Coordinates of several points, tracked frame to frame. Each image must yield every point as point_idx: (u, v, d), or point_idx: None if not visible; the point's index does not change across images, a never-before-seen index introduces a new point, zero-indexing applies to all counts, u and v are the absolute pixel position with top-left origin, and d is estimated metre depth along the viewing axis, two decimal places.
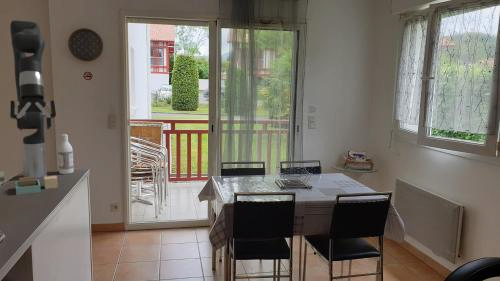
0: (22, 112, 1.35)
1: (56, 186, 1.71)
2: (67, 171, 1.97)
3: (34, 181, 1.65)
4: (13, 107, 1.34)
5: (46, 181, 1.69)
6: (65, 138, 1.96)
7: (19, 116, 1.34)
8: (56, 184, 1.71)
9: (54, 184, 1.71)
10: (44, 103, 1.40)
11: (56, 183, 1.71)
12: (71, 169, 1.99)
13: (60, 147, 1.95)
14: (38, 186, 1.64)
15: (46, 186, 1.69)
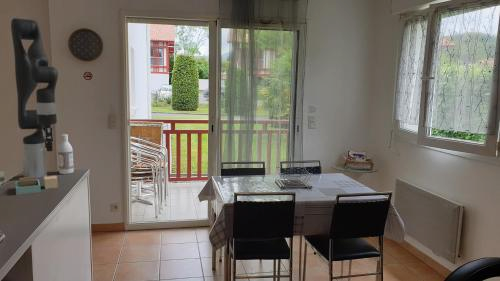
0: None
1: (56, 186, 1.71)
2: (67, 171, 1.97)
3: (34, 181, 1.65)
4: (52, 133, 1.64)
5: (46, 181, 1.69)
6: (65, 138, 1.96)
7: None
8: (56, 184, 1.71)
9: (54, 184, 1.71)
10: None
11: (56, 183, 1.71)
12: (71, 169, 1.99)
13: (60, 147, 1.95)
14: (38, 186, 1.64)
15: (46, 186, 1.69)
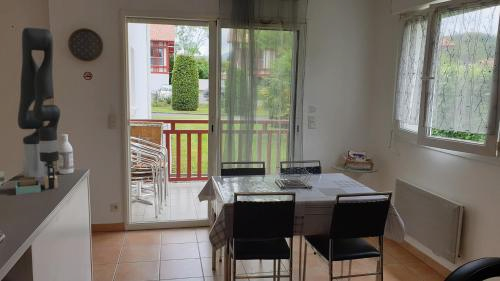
0: None
1: (56, 186, 1.71)
2: (67, 171, 1.97)
3: (34, 181, 1.65)
4: None
5: (46, 181, 1.69)
6: (65, 138, 1.96)
7: None
8: (56, 184, 1.71)
9: (54, 184, 1.71)
10: None
11: (56, 183, 1.71)
12: (71, 169, 1.99)
13: (60, 147, 1.95)
14: (38, 186, 1.64)
15: (46, 186, 1.69)
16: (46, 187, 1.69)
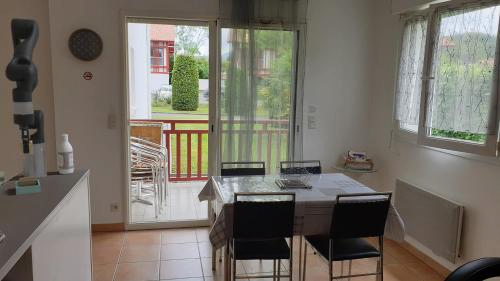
0: (29, 138, 1.62)
1: (31, 151, 1.63)
2: (67, 171, 1.97)
3: (34, 181, 1.65)
4: (28, 135, 1.59)
5: (20, 145, 1.61)
6: (65, 138, 1.96)
7: None
8: (31, 148, 1.63)
9: (29, 149, 1.63)
10: None
11: (31, 148, 1.63)
12: (71, 169, 1.99)
13: (60, 147, 1.95)
14: (38, 186, 1.64)
15: (20, 150, 1.61)
16: (20, 151, 1.61)
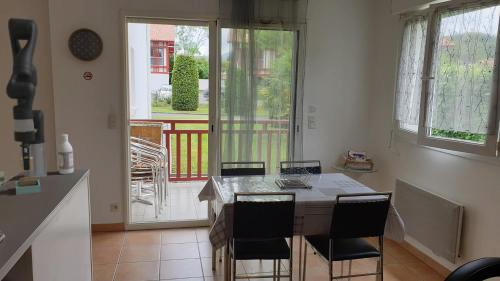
0: (30, 155, 1.63)
1: (32, 167, 1.64)
2: (67, 171, 1.97)
3: (34, 181, 1.65)
4: (29, 152, 1.60)
5: (21, 162, 1.62)
6: (65, 138, 1.96)
7: None
8: (32, 165, 1.64)
9: None
10: None
11: (32, 164, 1.64)
12: (71, 169, 1.99)
13: (60, 147, 1.95)
14: (38, 186, 1.64)
15: (21, 167, 1.62)
16: (21, 168, 1.62)
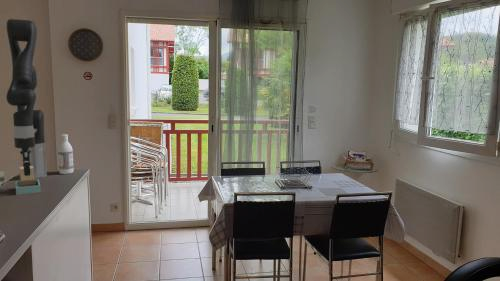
0: (30, 161, 1.63)
1: (32, 176, 1.65)
2: (67, 171, 1.97)
3: (34, 181, 1.65)
4: (29, 157, 1.60)
5: (21, 171, 1.62)
6: (65, 138, 1.96)
7: None
8: (32, 174, 1.65)
9: (30, 174, 1.64)
10: None
11: (32, 173, 1.65)
12: (71, 169, 1.99)
13: (60, 147, 1.95)
14: (38, 186, 1.64)
15: (21, 176, 1.63)
16: (21, 177, 1.63)
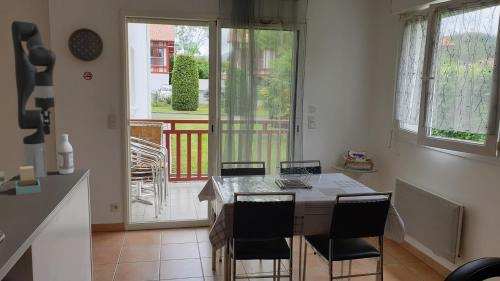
0: (50, 120, 1.67)
1: (32, 176, 1.65)
2: (67, 171, 1.97)
3: (34, 181, 1.65)
4: (49, 116, 1.65)
5: (21, 171, 1.62)
6: (65, 138, 1.96)
7: None
8: (32, 174, 1.65)
9: (30, 174, 1.64)
10: None
11: (32, 173, 1.65)
12: (71, 169, 1.99)
13: (60, 147, 1.95)
14: (38, 186, 1.64)
15: (21, 176, 1.63)
16: (21, 177, 1.63)
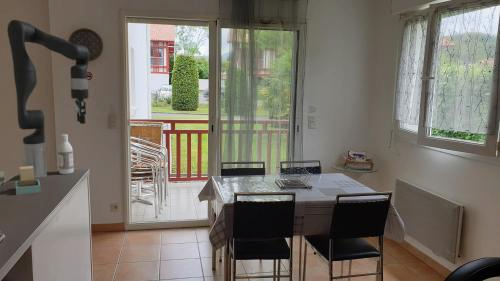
0: None
1: (32, 176, 1.65)
2: (67, 171, 1.97)
3: (34, 181, 1.65)
4: None
5: (21, 171, 1.62)
6: (65, 138, 1.96)
7: None
8: (32, 174, 1.65)
9: (30, 174, 1.64)
10: None
11: (32, 173, 1.65)
12: (71, 169, 1.99)
13: (60, 147, 1.95)
14: (38, 186, 1.64)
15: (21, 176, 1.63)
16: (21, 177, 1.63)
